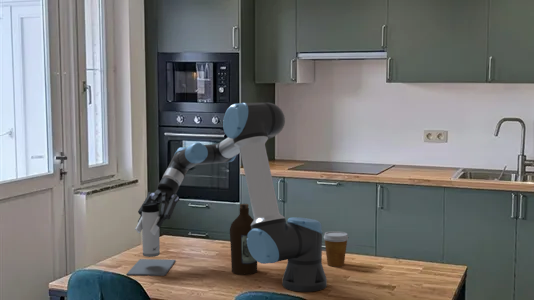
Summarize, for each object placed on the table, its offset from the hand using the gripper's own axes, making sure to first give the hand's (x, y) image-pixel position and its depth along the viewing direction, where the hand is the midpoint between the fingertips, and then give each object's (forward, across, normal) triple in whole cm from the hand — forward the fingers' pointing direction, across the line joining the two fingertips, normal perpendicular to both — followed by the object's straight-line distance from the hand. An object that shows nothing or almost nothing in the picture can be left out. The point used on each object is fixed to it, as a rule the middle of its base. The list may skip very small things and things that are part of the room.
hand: (144, 232), depth 244 cm
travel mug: (+4, 0, -9) cm, 10 cm away
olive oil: (-1, -33, -21) cm, 39 cm away
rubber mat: (+8, 0, -12) cm, 15 cm away
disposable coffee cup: (-18, -60, -38) cm, 73 cm away
